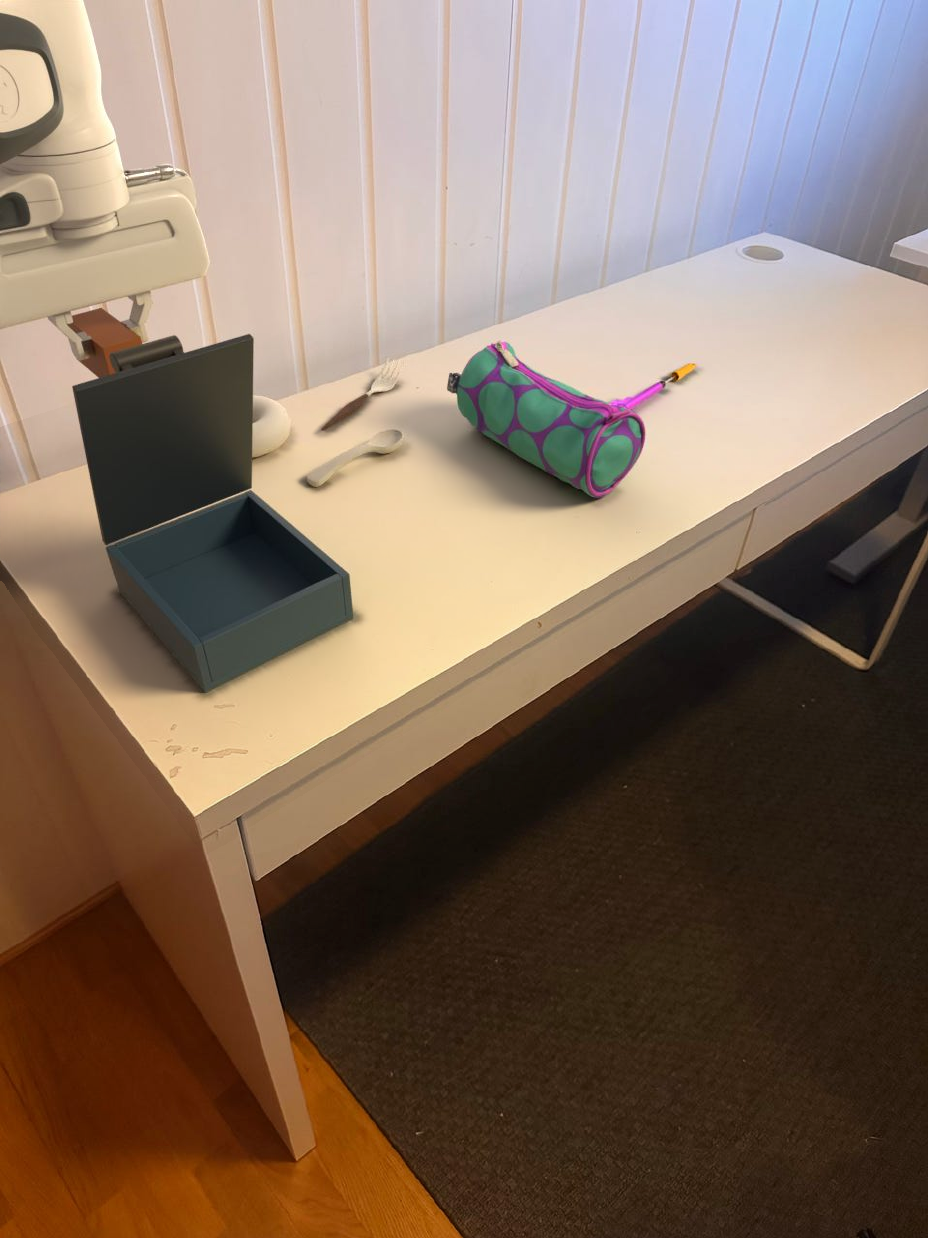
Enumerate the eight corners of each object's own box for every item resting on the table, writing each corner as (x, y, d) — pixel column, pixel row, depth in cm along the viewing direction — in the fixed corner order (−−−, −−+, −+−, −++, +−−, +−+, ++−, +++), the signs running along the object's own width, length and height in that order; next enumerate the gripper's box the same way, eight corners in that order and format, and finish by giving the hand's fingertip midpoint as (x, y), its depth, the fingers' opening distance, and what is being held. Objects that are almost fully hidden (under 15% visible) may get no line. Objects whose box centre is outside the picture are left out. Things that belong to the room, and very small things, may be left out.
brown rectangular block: (151, 379, 80) (140, 336, 77) (113, 390, 78) (102, 347, 76) (112, 348, 85) (101, 307, 82) (76, 359, 83) (64, 317, 80)
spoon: (411, 446, 94) (409, 430, 92) (321, 497, 88) (318, 480, 86) (392, 436, 95) (390, 419, 94) (303, 485, 89) (299, 468, 88)
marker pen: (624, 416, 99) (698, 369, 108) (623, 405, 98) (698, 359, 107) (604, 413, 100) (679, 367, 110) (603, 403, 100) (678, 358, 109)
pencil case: (446, 430, 97) (445, 345, 90) (507, 405, 101) (511, 323, 94) (582, 517, 85) (592, 426, 78) (645, 485, 89) (660, 396, 82)
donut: (236, 477, 89) (312, 438, 95) (230, 447, 87) (308, 409, 92) (178, 442, 94) (253, 407, 100) (170, 413, 92) (248, 378, 97)
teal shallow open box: (353, 618, 73) (349, 573, 70) (205, 693, 67) (193, 647, 64) (258, 532, 82) (250, 489, 79) (119, 591, 76) (105, 546, 72)
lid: (254, 337, 66) (223, 302, 67) (75, 391, 59) (46, 350, 61) (252, 488, 79) (226, 456, 80) (105, 545, 72) (80, 509, 74)
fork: (311, 431, 96) (310, 414, 95) (388, 372, 107) (387, 356, 105) (332, 437, 95) (330, 420, 94) (407, 377, 106) (406, 361, 105)
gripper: (171, 151, 77) (201, 308, 86) (-82, 196, 67) (-17, 368, 76) (206, 167, 73) (233, 329, 83) (-56, 217, 63) (8, 395, 73)
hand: (111, 349), depth 79 cm, fingers closed on brown rectangular block, 3 cm apart
